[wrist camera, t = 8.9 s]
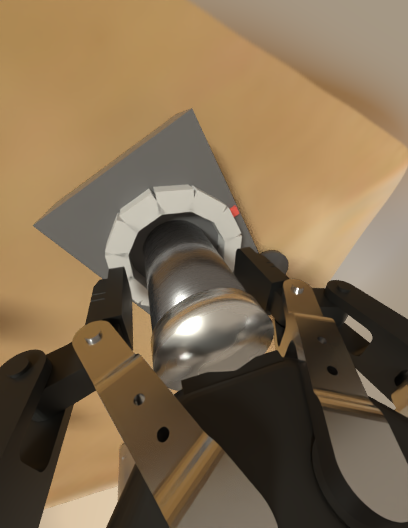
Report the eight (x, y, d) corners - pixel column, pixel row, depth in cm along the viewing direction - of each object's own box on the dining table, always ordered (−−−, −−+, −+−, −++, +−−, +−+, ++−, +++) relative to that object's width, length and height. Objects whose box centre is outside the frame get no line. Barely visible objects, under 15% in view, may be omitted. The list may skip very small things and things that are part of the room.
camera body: (242, 244, 20) (272, 273, 16) (162, 298, 21) (170, 339, 17) (176, 114, 13) (198, 105, 9) (55, 203, 13) (22, 235, 9)
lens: (209, 214, 13) (286, 294, 7) (208, 271, 15) (263, 369, 9) (135, 222, 12) (142, 329, 5) (147, 283, 14) (162, 403, 8)
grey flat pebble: (290, 260, 24) (295, 265, 23) (262, 290, 25) (266, 295, 25) (266, 241, 21) (271, 245, 21) (236, 275, 23) (239, 280, 22)
